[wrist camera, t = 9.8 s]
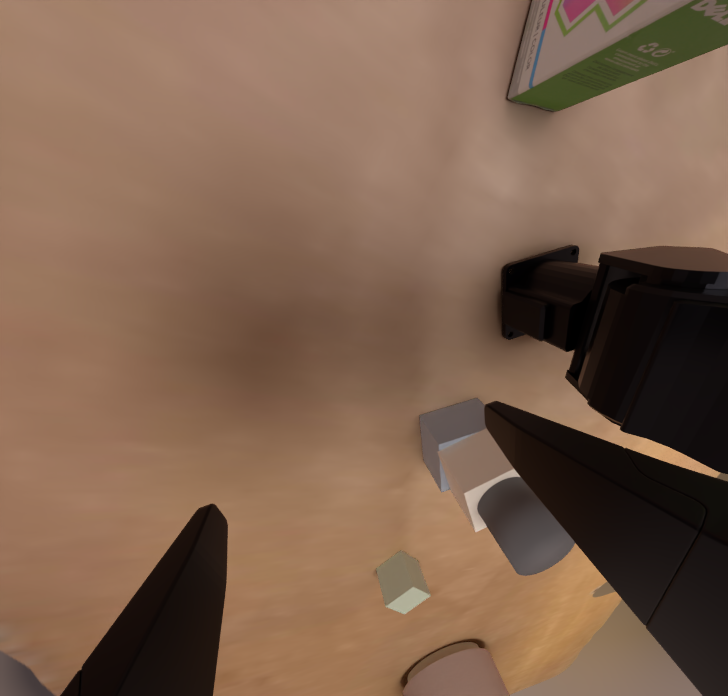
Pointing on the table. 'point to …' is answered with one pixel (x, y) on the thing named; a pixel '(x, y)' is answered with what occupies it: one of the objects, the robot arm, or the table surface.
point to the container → (456, 673)
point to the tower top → (474, 471)
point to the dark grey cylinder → (523, 527)
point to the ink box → (608, 45)
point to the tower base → (448, 433)
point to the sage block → (402, 583)
